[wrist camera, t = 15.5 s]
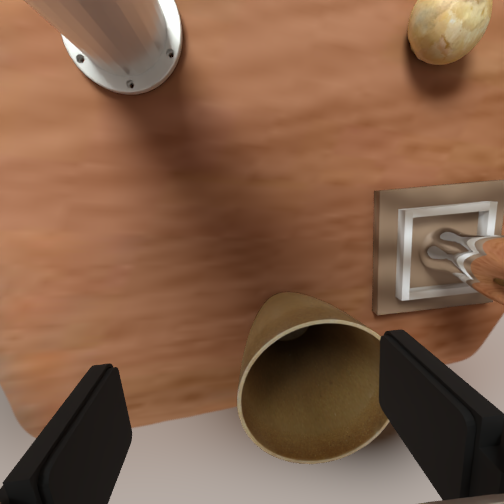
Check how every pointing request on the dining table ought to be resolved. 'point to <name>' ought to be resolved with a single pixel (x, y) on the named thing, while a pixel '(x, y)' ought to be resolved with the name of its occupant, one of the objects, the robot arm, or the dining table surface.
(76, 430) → the robot arm
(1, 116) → the dining table surface
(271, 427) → the plant pot
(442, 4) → the onion
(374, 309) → the holder board
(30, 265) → the dining table surface
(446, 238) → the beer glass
